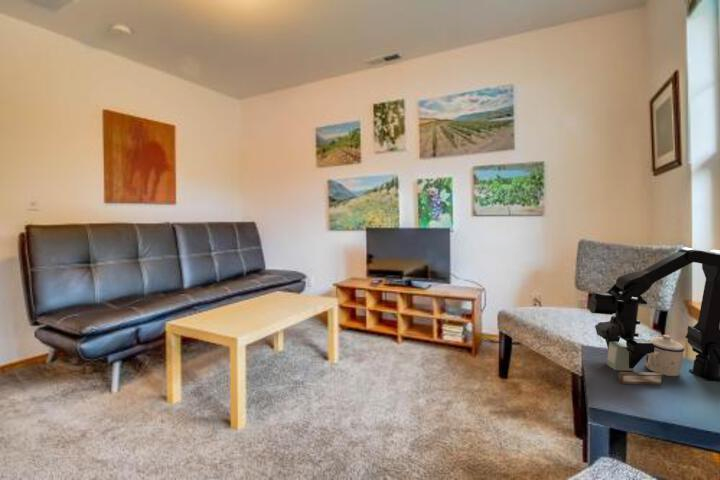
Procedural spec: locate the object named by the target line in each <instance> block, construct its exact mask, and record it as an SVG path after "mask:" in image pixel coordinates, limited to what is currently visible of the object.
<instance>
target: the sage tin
mask: <svg viewBox="0 0 720 480" xmlns="http://www.w3.org/2000/svg"><path fill="white" fill-rule="evenodd" d="M625 348H627V345H626V341H619V342H609V349H608V348H607V359H606V365H607V366H608V367H610V368H613V369H612V370H614V371H626V372H635V367H634V368H629V352H628V351H627V350H626V349H625Z"/></svg>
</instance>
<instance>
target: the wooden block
mask: <svg viewBox="0 0 720 480" xmlns="http://www.w3.org/2000/svg"><path fill="white" fill-rule="evenodd" d="M662 381H663V375H662V374H660V373H656V372H653V371H651V372H647V371H646V372H644V371H641V372H639V371H619V372H618V376H617V382H618V383H619V384H621V385H622V384H623V385H627V384H628V385H662Z"/></svg>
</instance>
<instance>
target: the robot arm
mask: <svg viewBox="0 0 720 480" xmlns="http://www.w3.org/2000/svg"><path fill="white" fill-rule="evenodd" d="M692 263H697V264H701V266H702V267H701V269H702V271H703V272H702V273H703V274H704V277H705V282H704V288H703V294H702V298H701V299H702V300H701V303H700V308H699V309H700V310H699V315H698V319H697V320H698V321H697V323H695V324H694V326H691V325H688V326H687V333H686V335H685V338H686V339H687V343H688V345H690V347H691V350H692V351H693V352H695V353H696V354H695V358H694V360H693V367H692V368H691V369H688V371H689V372H690V373H692V374H694V375H696V376H698V377H699V378H701V379H703V380H704V381H708V382H709V381H710V382H720V250H718V249H711V250H708V251H705V250H700V249H694V248H690V247H683V248H680V249H679V250H678V251H676V252H674V253H672V254H670V255H669V256H667V257H664V258H663V259H661V260H659V261H657V262H656V263H655V262H654V264H651V265H650V266H648V267H647V268H645V269H644V268H643V269H642V270H640V271H639V270H638V271H634V272H630V273H627V274H624V275H621V276H620V277H618V278H617V279H616V282H615V284H613V285H612V287H610V288H609V289H608V291H606V293H603V292H602V293H601V292H597V291H596V292H595V291H593V292H592V295H591V296H590V298H589V300H588V309H589V312H590V313H591V314H597V315H598V314H599V315H611V317H610V320H609V321H603V322H602V321H600V322H599V323H597V324H595V325H594V329H595V331H596V336H598V337H601V338H602V339H604V340H605V343H606V347H607V350H608V349H609V342H620V340H624V342H626V345H627V348H625V349H626V350H627V351H628V352H629V368H634V369H635V367H636V366H637V365H638V363H640V361H641V360H642V359H643V358H644V357H645V356H647V354H650V353H654V350H655V346H654V345H653V344H652V343H651V342H649V341H648V340H647V339H645V338H639V335H640V334H639V332H636V331H637V330H636V329H637V325H641V321H640V320H639V319H638V313H639V305H647V304H648V302H647V300H645V299H644V297H643V294H645V293H646V292H648V291H649V290H650V289H651V287H652V286H653V285H654V284H655V283H656V282H658V281H661V280H662V279H665V277H668V276H669V275H671V274H674V273H675V272H678V271H679V270H681V269H683V268H685V267H686V266H689V265H690V264H692ZM614 314H615V315H614ZM636 337H637V338H636Z"/></svg>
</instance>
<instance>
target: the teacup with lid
mask: <svg viewBox="0 0 720 480" xmlns="http://www.w3.org/2000/svg"><path fill="white" fill-rule="evenodd" d="M647 341H649V342H651V343H652V344H653V345H654V346H655V350H654V353H650V354H646V359H645V367H646V368H647V369H648V370H649V371H651V372H656V373H660V374H662V376H668V377H677V376H680V375H681V369H682V364H683V363H682V361H683V354H684V352H685V347H684V346H683V344H681V343H680V342H677V341H676V340H674V339H672V337H671V336H670V335H669V334H663V335H662V336H659V337H651V338H648V340H647Z"/></svg>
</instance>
